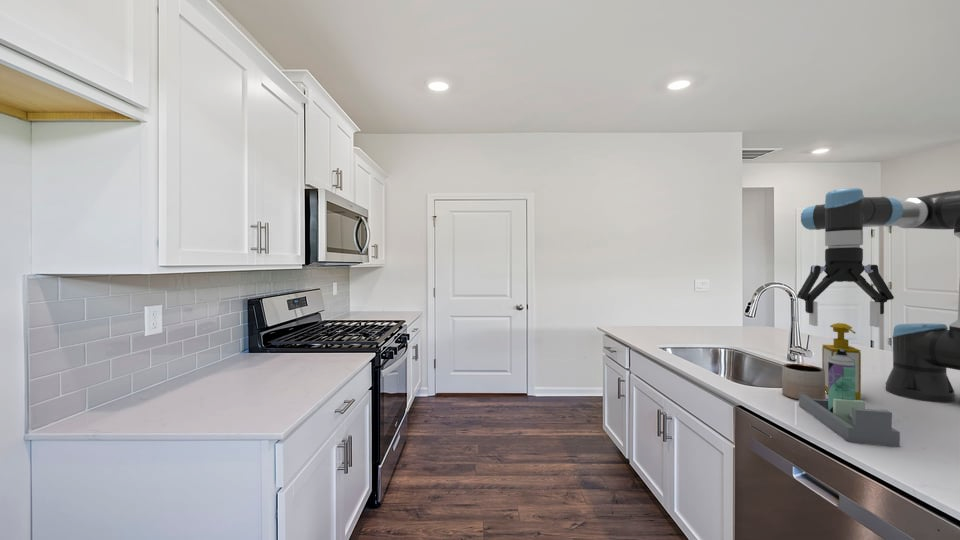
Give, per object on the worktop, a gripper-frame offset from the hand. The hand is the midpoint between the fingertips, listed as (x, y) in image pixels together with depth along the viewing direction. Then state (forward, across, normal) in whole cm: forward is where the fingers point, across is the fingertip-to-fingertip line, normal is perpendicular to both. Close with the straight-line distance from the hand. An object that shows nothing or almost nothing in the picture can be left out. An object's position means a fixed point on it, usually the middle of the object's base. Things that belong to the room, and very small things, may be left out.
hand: (843, 325), depth 107 cm
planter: (+27, 0, -22) cm, 35 cm away
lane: (+27, 0, 0) cm, 27 cm away
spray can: (+27, 0, -1) cm, 27 cm away
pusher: (+27, 0, +5) cm, 27 cm away
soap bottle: (+27, -12, -24) cm, 38 cm away
